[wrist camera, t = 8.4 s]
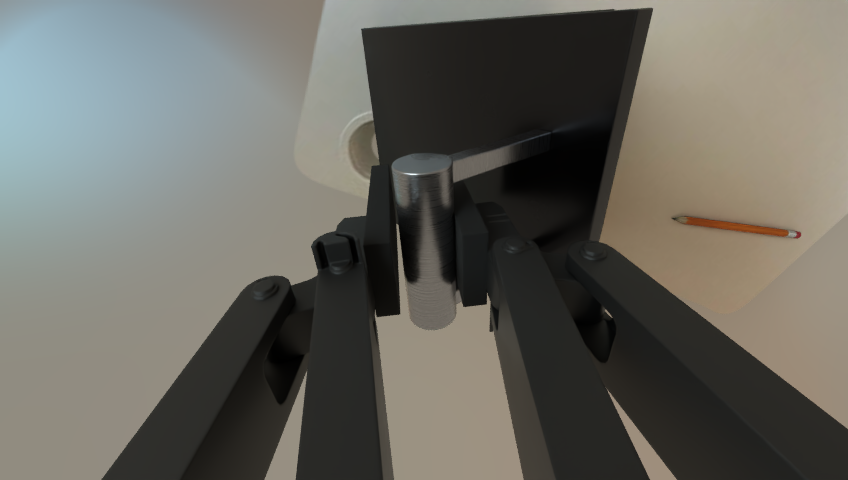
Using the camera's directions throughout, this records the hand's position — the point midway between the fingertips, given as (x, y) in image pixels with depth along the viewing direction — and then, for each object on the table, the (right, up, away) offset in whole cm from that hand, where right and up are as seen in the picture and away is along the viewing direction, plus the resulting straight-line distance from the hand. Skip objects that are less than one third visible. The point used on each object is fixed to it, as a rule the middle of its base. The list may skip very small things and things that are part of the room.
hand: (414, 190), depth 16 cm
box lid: (+2, +2, +3) cm, 4 cm away
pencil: (+39, 0, +28) cm, 48 cm away
